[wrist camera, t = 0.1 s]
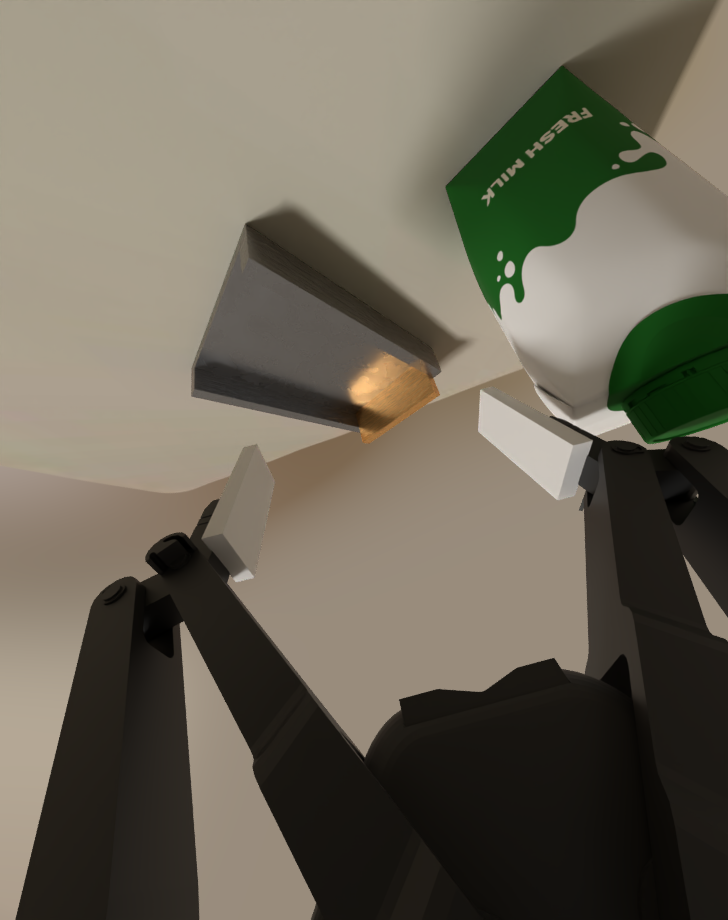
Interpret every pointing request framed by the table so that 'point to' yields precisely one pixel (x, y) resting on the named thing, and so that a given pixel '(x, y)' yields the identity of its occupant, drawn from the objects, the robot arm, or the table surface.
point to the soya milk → (601, 264)
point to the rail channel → (307, 348)
